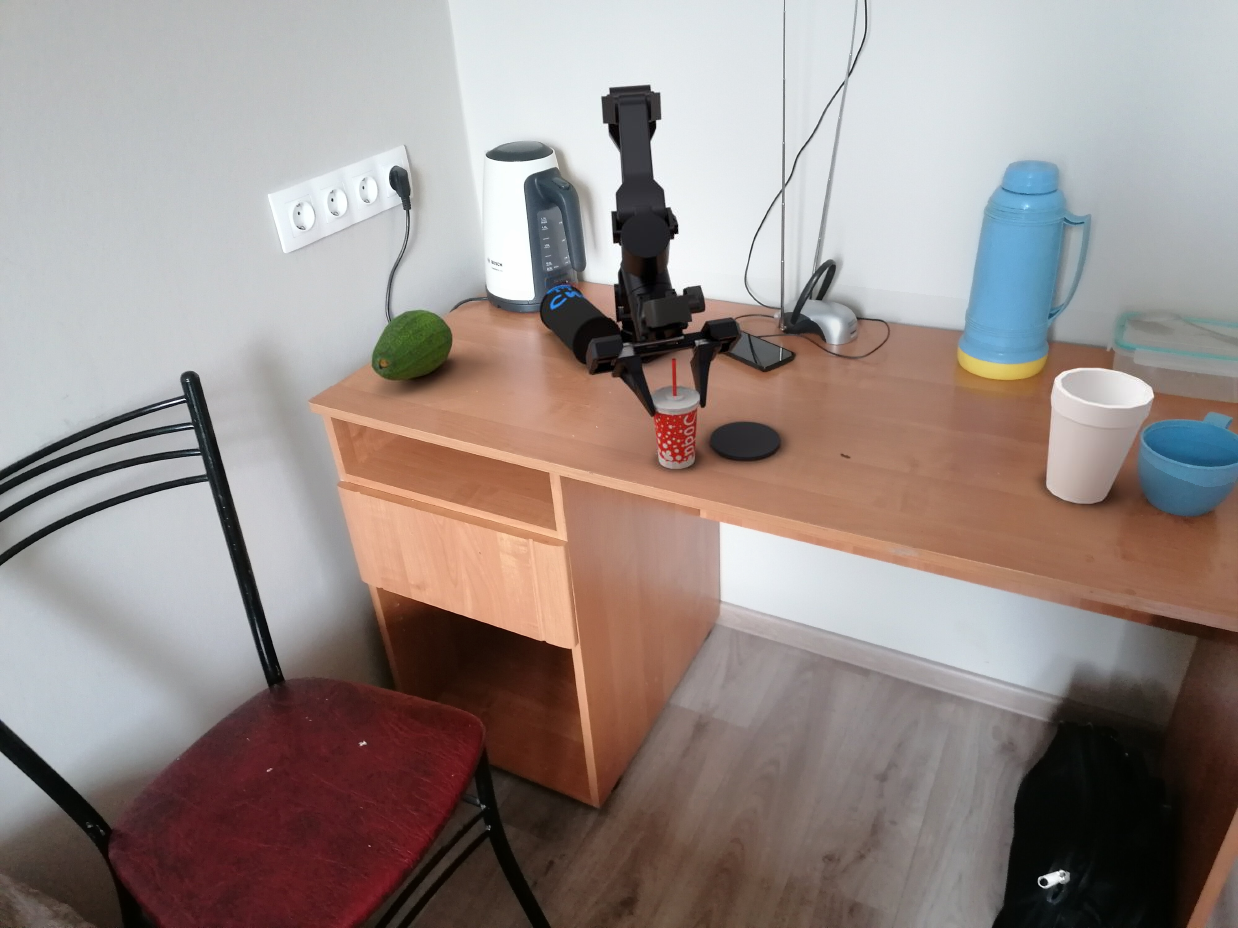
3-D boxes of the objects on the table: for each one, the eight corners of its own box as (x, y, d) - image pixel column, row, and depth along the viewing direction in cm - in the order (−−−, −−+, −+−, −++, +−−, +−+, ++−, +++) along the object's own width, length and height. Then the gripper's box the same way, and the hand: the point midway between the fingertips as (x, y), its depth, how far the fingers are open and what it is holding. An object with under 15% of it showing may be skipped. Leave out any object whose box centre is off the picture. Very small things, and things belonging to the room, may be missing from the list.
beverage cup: (668, 477, 105) (664, 375, 97) (644, 455, 109) (638, 356, 102) (710, 463, 107) (709, 362, 99) (684, 442, 112) (682, 344, 104)
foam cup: (1016, 470, 101) (1038, 371, 94) (1092, 462, 102) (1119, 364, 95) (1058, 516, 93) (1085, 412, 86) (1140, 507, 94) (1173, 403, 87)
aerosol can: (572, 370, 131) (532, 326, 147) (621, 363, 134) (576, 320, 150) (572, 319, 127) (530, 279, 143) (622, 313, 130) (576, 274, 145)
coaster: (740, 418, 116) (740, 414, 116) (794, 440, 110) (794, 436, 110) (695, 444, 111) (695, 440, 111) (750, 469, 105) (750, 464, 105)
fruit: (408, 402, 126) (394, 340, 121) (359, 390, 131) (343, 330, 125) (471, 361, 137) (461, 302, 132) (423, 351, 141) (412, 294, 136)
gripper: (582, 275, 97) (611, 404, 94) (737, 253, 100) (770, 376, 97) (575, 315, 107) (600, 431, 104) (715, 293, 111) (744, 406, 107)
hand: (678, 411), depth 103 cm, fingers closed on beverage cup, 6 cm apart
